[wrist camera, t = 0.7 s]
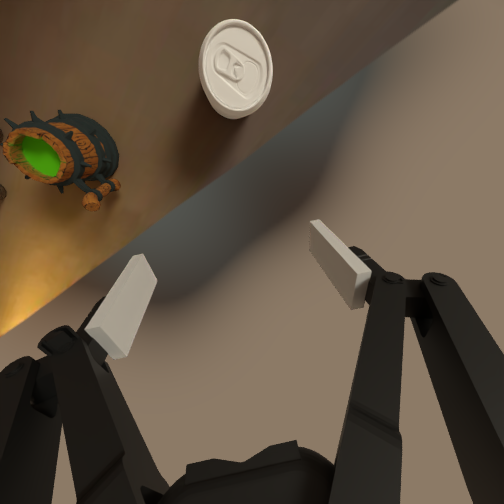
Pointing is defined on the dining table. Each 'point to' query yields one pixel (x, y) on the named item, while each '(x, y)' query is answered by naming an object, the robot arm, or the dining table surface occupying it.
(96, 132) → the mug
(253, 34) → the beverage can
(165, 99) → the dining table surface
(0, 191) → the posts
